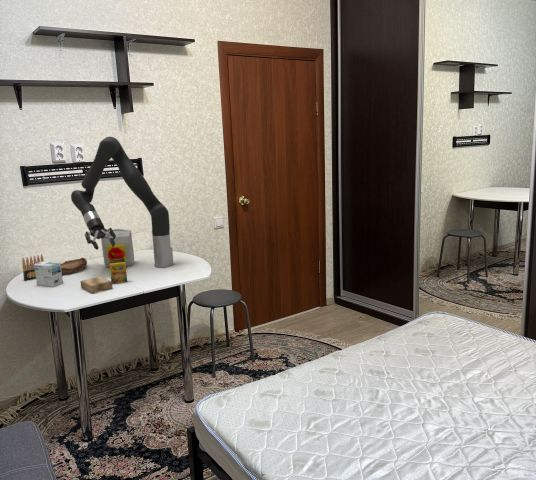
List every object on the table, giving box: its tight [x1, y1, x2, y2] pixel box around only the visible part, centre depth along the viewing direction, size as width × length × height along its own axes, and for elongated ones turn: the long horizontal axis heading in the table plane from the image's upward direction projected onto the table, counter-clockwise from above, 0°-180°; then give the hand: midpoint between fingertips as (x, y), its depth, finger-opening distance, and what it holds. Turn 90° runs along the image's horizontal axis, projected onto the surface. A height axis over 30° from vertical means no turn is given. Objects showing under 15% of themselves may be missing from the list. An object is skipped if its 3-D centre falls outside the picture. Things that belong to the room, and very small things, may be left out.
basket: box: [61, 257, 88, 276], centre depth 268 cm, size 22×20×5 cm
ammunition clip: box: [21, 254, 45, 282], centre depth 253 cm, size 11×2×12 cm, turn 131°
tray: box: [79, 275, 113, 295], centre depth 235 cm, size 10×12×4 cm
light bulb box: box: [33, 260, 64, 288], centre depth 243 cm, size 11×7×11 cm, turn 71°
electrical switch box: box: [100, 228, 135, 268], centre depth 271 cm, size 15×15×20 cm
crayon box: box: [109, 258, 128, 285], centre depth 243 cm, size 7×3×12 cm, turn 114°
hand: (105, 247), depth 249 cm, fingers open, 8 cm apart
